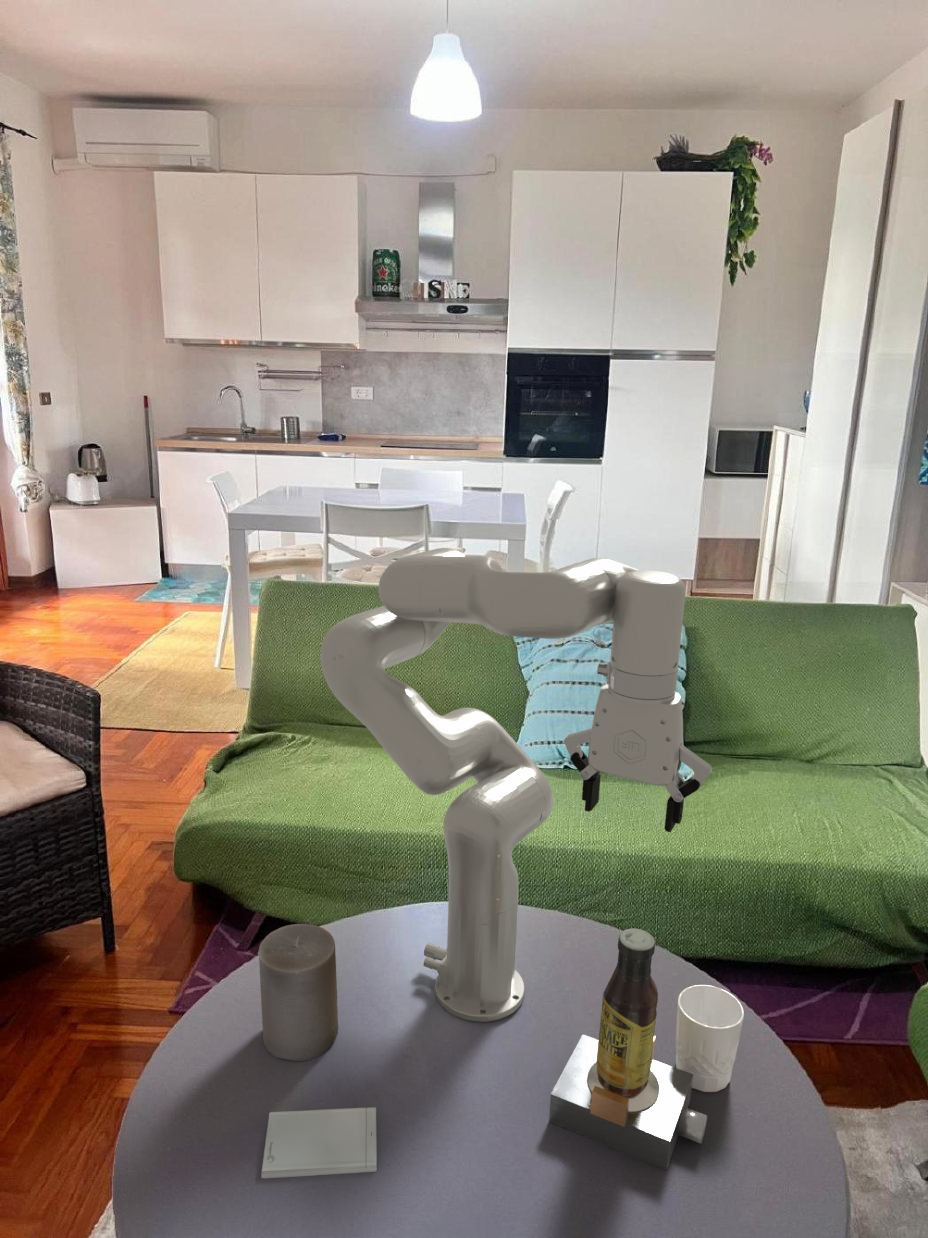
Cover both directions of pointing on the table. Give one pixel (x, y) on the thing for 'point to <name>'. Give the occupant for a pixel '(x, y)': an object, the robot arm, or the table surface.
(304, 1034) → the pillar candle
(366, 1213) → the table surface
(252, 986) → the table surface
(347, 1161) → the hard drive
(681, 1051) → the white cup
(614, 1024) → the sauce bottle
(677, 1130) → the block
